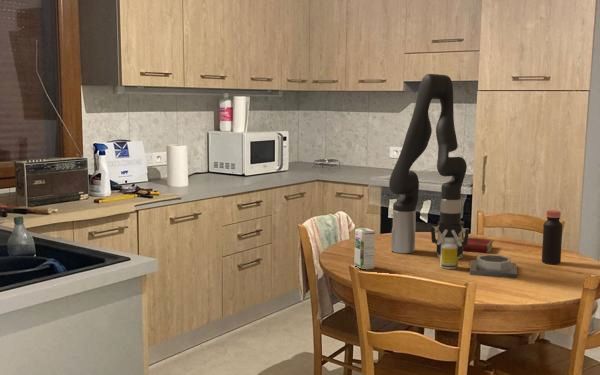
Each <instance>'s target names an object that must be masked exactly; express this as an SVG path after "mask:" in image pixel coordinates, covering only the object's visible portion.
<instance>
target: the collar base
mask: <svg viewBox="0 0 600 375" xmlns="http://www.w3.org/2000/svg"><path fill="white" fill-rule="evenodd" d="M517 267H518V266H517V262H512V258H511V257H508V256H504V255H499V254H489V253H488V254H481V255H476V259H471V262H470V268H469V275H473V276H485V277H499V278H501V277H502V278H513V279H517V278H518V269H517Z"/></svg>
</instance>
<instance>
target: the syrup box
mask: <svg viewBox="0 0 600 375" xmlns="http://www.w3.org/2000/svg"><path fill="white" fill-rule="evenodd" d="M354 234H355V235H354V263H353V264H354V265H353V266H354V267H355V266H357V267H359V268H361V269H366V270H372V269H375V250H376V248H375V247H376V245H375V244H376V231H375V230H372V229H370V228H366V227H365V228H364V227H359V228H356V229H355V232H354ZM357 267H356V268H357ZM359 268H358V269H359Z"/></svg>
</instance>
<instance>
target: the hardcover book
mask: <svg viewBox="0 0 600 375" xmlns="http://www.w3.org/2000/svg"><path fill="white" fill-rule="evenodd" d="M464 238H465V236H463V241H464ZM493 242H494V239H488V238H479V237H478V238H477V237H468V242H467V245H463V252H469V253H477V254H485V255H487V254H488V255H489V252H490V251H491V250H492V249H493Z"/></svg>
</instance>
